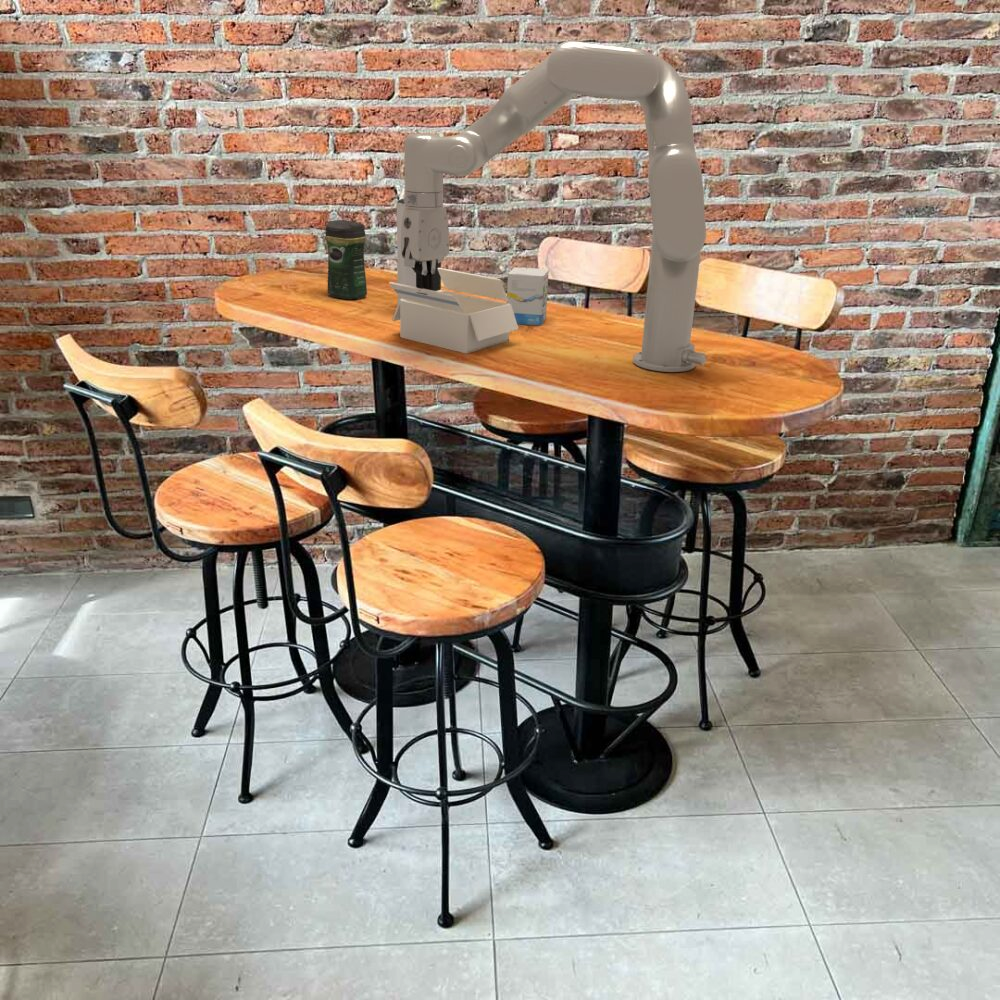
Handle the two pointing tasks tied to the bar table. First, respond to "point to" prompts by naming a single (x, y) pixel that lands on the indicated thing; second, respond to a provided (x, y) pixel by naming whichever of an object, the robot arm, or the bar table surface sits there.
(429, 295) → the front flap
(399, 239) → the speaker
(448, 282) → the back flap
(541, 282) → the ink box
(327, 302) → the bar table surface
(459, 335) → the carton
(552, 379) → the bar table surface
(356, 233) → the coffee jar
